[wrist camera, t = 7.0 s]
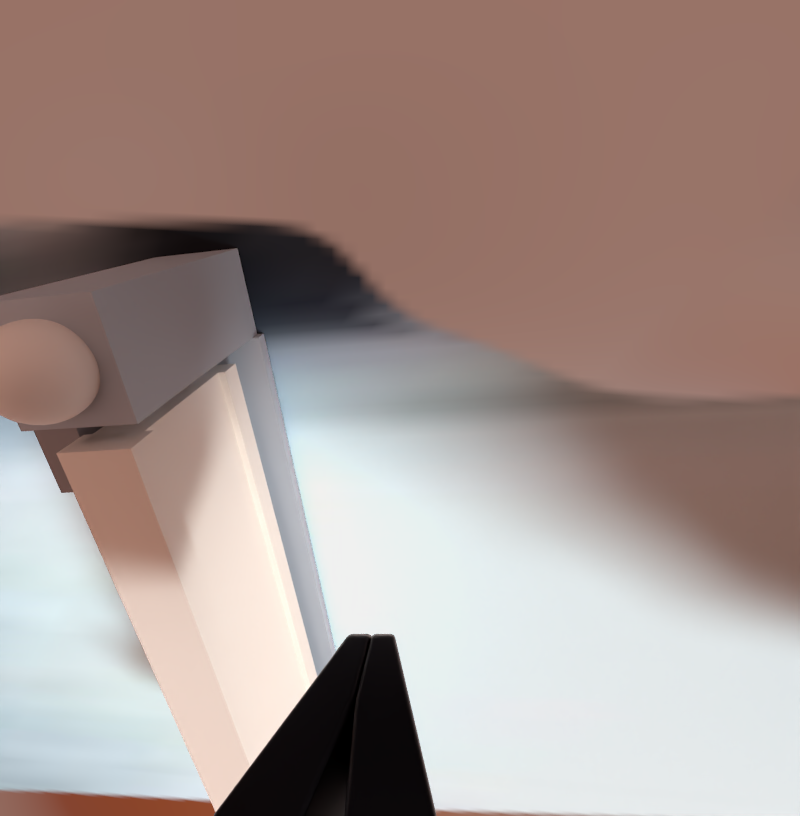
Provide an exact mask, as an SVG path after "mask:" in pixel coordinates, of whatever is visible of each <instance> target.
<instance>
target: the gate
mask: <svg viewBox="0 0 800 816" xmlns="http://www.w3.org/2000/svg"><path fill="white" fill-rule="evenodd" d="M56 454H57V456H58V458H59V461H60V463H61V465H62V467H63V470H64V472H65V474H66V476H67V479H68V481H69V483H70V485H71V488H72V490H73V492H74V494H75V497H76V499H77V501H78V503H79V506H80V508H81V510H82V512H83V515H84V517H85V519H86V521H87V524H88V526H89V528H90V530H91V533H92V535H93V537H94V539H95V542H96V544H97V546H98V548H99V551H100V553H101V555H102V557H103V560H104V562H105V564H106V566H107V569H108V571H109V573H110V575H111V578H112V580H113V582H114V584H115V587H116V589H117V591H118V593H119V596H120V598H121V600H122V602H123V605H124V607H125V609H126V611H127V614H128V616H129V618H130V620H131V623H132V625H133V627H134V629H135V632H136V634H137V636H138V638H139V641H140V643H141V645H142V647H143V650H144V652H145V654H146V656H147V659H148V661H149V663H150V665H151V668H152V670H153V672H154V674H155V677H156V679H157V681H158V683H159V686H160V688H161V690H162V692H163V695H164V697H165V699H166V701H167V704H168V706H169V708H170V710H171V713H172V715H173V717H174V719H175V722H176V724H177V726H178V728H179V731H180V733H181V735H182V737H183V740H184V742H185V744H186V746H187V749H188V751H189V753H190V755H191V758H192V760H193V762H194V764H195V767H196V769H197V771H198V773H199V776H200V778H201V780H202V782H203V785H204V787H205V789H206V791H207V794H208V796H209V798H210V800H211V803H212V805H213V807H214V809H215V812H216V811H217V810H218V809H219V807H220V806H221V805H222V803H223V802H224V801H225V799H226V798H227V797H228V795H229V794H230V792H231V791H232V790H233V788H234V787H235V786H236V784H237V783H238V782H239V780H240V779H241V778H242V776H243V775H244V774H245V772H246V771H247V770H248V768H249V767H250V766H251V764H252V763H253V762H254V760H255V759H256V758H257V756H258V755H259V754H260V752H261V751H262V750H263V748H264V747H265V746H266V744H267V743H268V742H269V740H270V739H271V738H272V736H273V735H274V734H275V732H276V731H277V730H278V728H279V727H280V726H281V724H282V723H283V722H284V720H285V719H286V718H287V716H288V715H289V714H290V712H291V711H292V710H293V708H294V707H295V706H296V704H297V703H298V702H299V700H300V699H301V698H302V696H303V695H304V694H305V692H306V691H307V690H308V688H309V687H310V686H311V684H312V683H313V682H314V680H315V679H316V678H317V673H316V670H315V666H314V662H313V658H312V654H311V650H310V647H309V643H308V639H307V635H306V631H305V627H304V624H303V620H302V616H301V612H300V608H299V605H298V601H297V597H296V593H295V589H294V585H293V582H292V578H291V574H290V570H289V566H288V562H287V559H286V555H285V551H284V547H283V543H282V540H281V536H280V532H279V528H278V524H277V520H276V517H275V513H274V509H273V505H272V501H271V497H270V494H269V490H268V486H267V482H266V478H265V474H264V471H263V467H262V463H261V459H260V455H259V452H258V448H257V444H256V440H255V436H254V432H253V429H252V425H251V421H250V417H249V413H248V409H247V406H246V402H245V398H244V394H243V390H242V387H241V383H240V379H239V375H238V371H237V367H236V364H224V365H215V366H214V367H213V368H212V369H210V370H209V371H208V372H206V373H205V374H204V375H202V376H201V377H200V378H198V379H197V380H196V381H194V382H193V383H192V384H190V385H189V386H188V387H186V388H185V389H184V390H182V391H181V392H180V393H178V394H177V395H176V396H174V397H173V398H172V399H170V400H169V401H168V402H166V403H165V404H164V405H162V406H161V407H160V408H159V409H157V410H156V411H155V412H153V413H152V414H151V415H149V416H148V417H147V418H145V419H144V420H143V421H141V422H140V423H139V424H131V425H115V426H104V427H102V428H101V429H99V430H98V431H96V432H95V433H93V434H87V435H83V436H81V437H80V438H78V439H77V440H75V441H74V442H72V443H71V444H69V445H68V446H66V447H65V448H63V449H62V450H60V451H59V452H58V453H56Z"/></svg>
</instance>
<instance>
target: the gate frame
mask: <svg viewBox="0 0 800 816" xmlns="http://www.w3.org/2000/svg"><path fill="white" fill-rule="evenodd" d="M224 364H236V367H237V371H238V375H239V379H240V383H241V387H242V390H243V394H244V398H245V402H246V406H247V409H248V413H249V417H250V421H251V425H252V429H253V432H254V436H255V440H256V444H257V448H258V452H259V455H260V459H261V463H262V467H263V471H264V474H265V478H266V482H267V486H268V490H269V494H270V497H271V501H272V505H273V509H274V513H275V517H276V520H277V524H278V528H279V532H280V536H281V540H282V543H283V547H284V551H285V555H286V559H287V562H288V566H289V570H290V574H291V578H292V582H293V585H294V589H295V593H296V597H297V601H298V605H299V608H300V612H301V616H302V620H303V624H304V627H305V631H306V635H307V639H308V643H309V647H310V650H311V654H312V658H313V662H314V666H315V670H316V673H317V676H318V675H319V674H320V672H321V671H322V670H323V668H324V667H325V666H326V664H327V663H328V662H329V660H330V659H331V658H332V656H333V655H334V654H335V652H336V651H335V647H334V642H333V638H332V633H331V629H330V625H329V620H328V616H327V611H326V607H325V602H324V598H323V594H322V589H321V585H320V580H319V576H318V571H317V567H316V562H315V558H314V554H313V549H312V545H311V540H310V536H309V531H308V527H307V523H306V518H305V514H304V509H303V505H302V500H301V496H300V492H299V487H298V483H297V478H296V474H295V469H294V465H293V461H292V456H291V452H290V447H289V443H288V438H287V434H286V430H285V425H284V421H283V416H282V412H281V407H280V403H279V399H278V394H277V390H276V385H275V381H274V376H273V372H272V368H271V363H270V359H269V354H268V350H267V345H266V341H265V337H264V333H263V334H257V331H256V326H255V322H254V318H253V313H252V309H251V305H250V300H249V296H248V292H247V287H246V283H245V279H244V274H243V270H242V266H241V262H240V257H239V253H238V249H237V248H235V249H226V250H217V251H208V252H199V253H190V254H181V255H172V256H163V257H155V258H151V259H147V260H143V261H139V262H135V263H131V264H127V265H122V266H118V267H114V268H110V269H106V270H102V271H98V272H94V273H90V274H86V275H82V276H78V277H74V278H70V279H66V280H61V281H57V282H53V283H49V284H45V285H41V286H37V287H33V288H29V289H25V290H21V291H17V292H13V293H9V294H4V295H0V415H1V416H3V417H5V418H7V419H10V420H12V421H15V422H17V423H18V425H19V427H20V430H21V431H33V430H34V432H35V435H36V437H37V439H38V441H39V444H40V446H41V448H42V450H43V453H44V455H45V457H46V459H47V461H48V464H49V466H50V468H51V470H52V473H53V475H54V477H55V479H56V481H57V484H58V486H59V488H60V490H61V493H65V492H73V490H72V488H71V485H70V483H69V481H68V479H67V476H66V474H65V472H64V470H63V467H62V465H61V463H60V461H59V458H58V456H57V454H56V453H58V452H59V451H60V450H62V449H63V448H65V447H66V446H68V445H69V444H71V443H72V442H74V441H75V440H77V439H78V438H80V437H81V436H83V435H87V434H93V433H95V432H96V431H98V430H99V429H101V428H102V427H104V426H115V425H131V424H139V423H140V422H141V421H143V420H144V419H145V418H147V417H148V416H149V415H151V414H152V413H153V412H155V411H156V410H157V409H159V408H160V407H161V406H162V405H164V404H165V403H166V402H168V401H169V400H170V399H172V398H173V397H174V396H176V395H177V394H178V393H180V392H181V391H182V390H184V389H185V388H186V387H188V386H189V385H190V384H192V383H193V382H194V381H196V380H197V379H198V378H200V377H201V376H202V375H204V374H205V373H206V372H208V371H209V370H210V369H212V368H213V367H214V366H215V365H224Z"/></svg>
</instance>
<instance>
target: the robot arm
mask: <svg viewBox="0 0 800 816" xmlns="http://www.w3.org/2000/svg"><path fill="white" fill-rule="evenodd" d="M214 816H436V812H435V808H434V803H433V799H432V795H431V790H430V786H429V782H428V777H427V773H426V769H425V764H424V760H423V756H422V752H421V747H420V743H419V739H418V734H417V730H416V726H415V721H414V717H413V713H412V709H411V704H410V700H409V696H408V691H407V687H406V683H405V678H404V674H403V670H402V665H401V661H400V657H399V653H398V648H397V644H396V640H395V637H394V635H392V634H374V635H373V636H372V637H371V635H369V634H351V635H349V636H348V637H347V638H346V639H345V640H344V642H343V643H342V644H341V646H340V647H339V648H338V650H337V651H336V652H335V654H334V655H333V656H332V658H331V659H330V660H329V662H328V663H327V664H326V666H325V667H324V668H323V670H322V671H321V672H320V674H319V675H318V676H317V678H316V679H315V680H314V682H313V683H312V684H311V686H310V687H309V688H308V690H307V691H306V692H305V694H304V695H303V696H302V698H301V699H300V700H299V702H298V703H297V704H296V706H295V707H294V708H293V710H292V711H291V712H290V714H289V715H288V716H287V718H286V719H285V720H284V722H283V723H282V724H281V726H280V727H279V728H278V730H277V731H276V732H275V734H274V735H273V736H272V738H271V739H270V740H269V742H268V743H267V744H266V746H265V747H264V748H263V750H262V751H261V752H260V754H259V755H258V756H257V758H256V759H255V760H254V762H253V763H252V764H251V766H250V767H249V768H248V770H247V771H246V772H245V774H244V775H243V776H242V778H241V779H240V780H239V782H238V783H237V784H236V786H235V787H234V788H233V790H232V791H231V792H230V794H229V795H228V797H227V798H226V799H225V801H224V802H223V803H222V805H221V806H220V807H219V809H218V810H217V811H216V813H215V814H214Z"/></svg>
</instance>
